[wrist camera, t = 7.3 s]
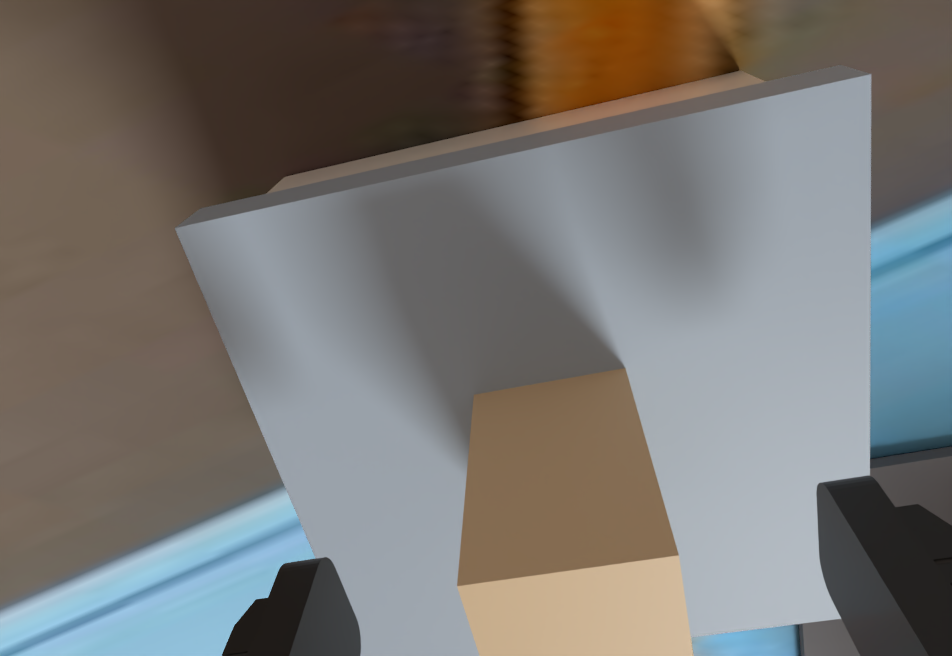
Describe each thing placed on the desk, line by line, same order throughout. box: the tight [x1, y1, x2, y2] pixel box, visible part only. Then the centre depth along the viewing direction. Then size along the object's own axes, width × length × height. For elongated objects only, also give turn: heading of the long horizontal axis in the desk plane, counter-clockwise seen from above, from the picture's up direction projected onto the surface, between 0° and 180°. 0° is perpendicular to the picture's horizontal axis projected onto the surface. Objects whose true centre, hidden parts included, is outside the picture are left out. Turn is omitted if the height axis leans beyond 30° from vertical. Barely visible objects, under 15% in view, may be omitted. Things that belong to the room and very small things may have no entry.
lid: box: [175, 65, 871, 656], centre depth 13 cm, size 12×12×6 cm
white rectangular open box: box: [266, 71, 765, 194], centre depth 18 cm, size 11×11×4 cm
